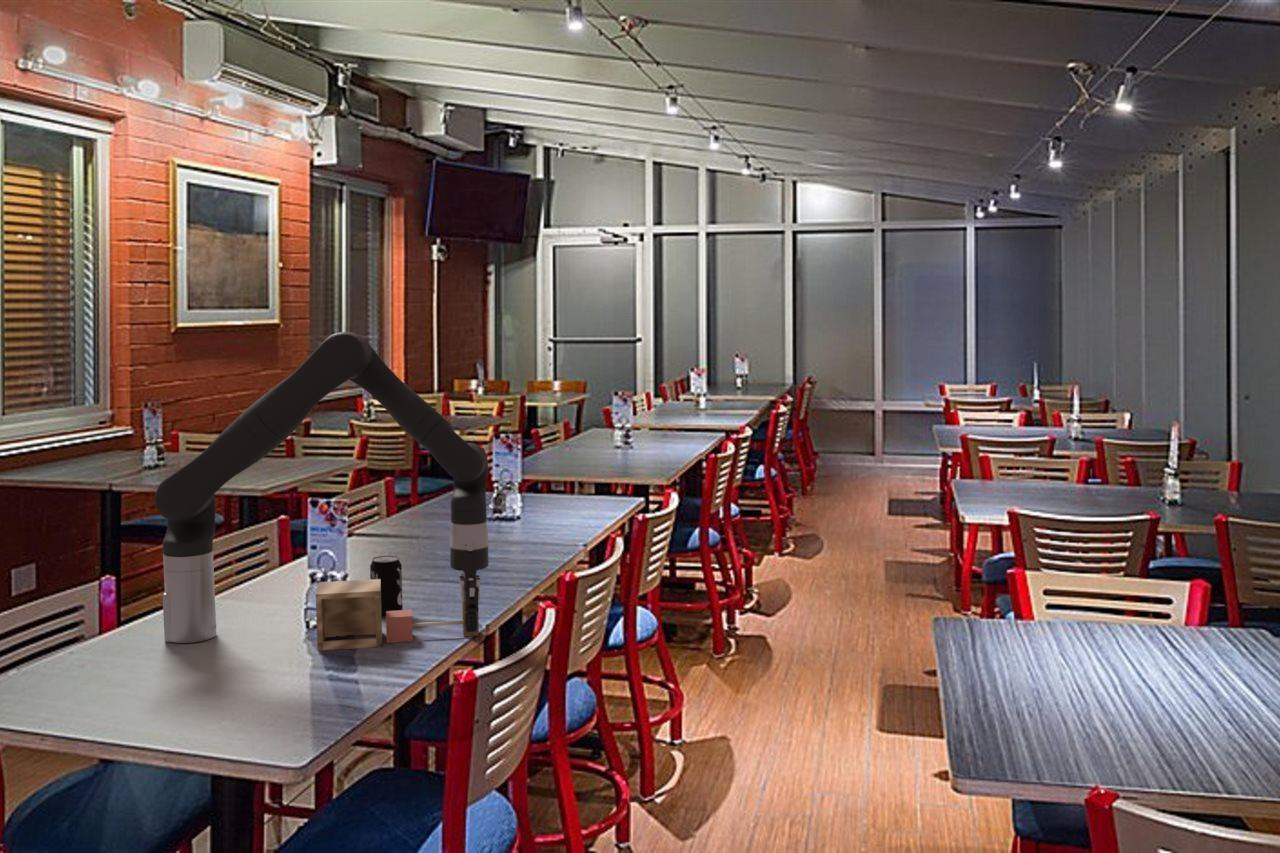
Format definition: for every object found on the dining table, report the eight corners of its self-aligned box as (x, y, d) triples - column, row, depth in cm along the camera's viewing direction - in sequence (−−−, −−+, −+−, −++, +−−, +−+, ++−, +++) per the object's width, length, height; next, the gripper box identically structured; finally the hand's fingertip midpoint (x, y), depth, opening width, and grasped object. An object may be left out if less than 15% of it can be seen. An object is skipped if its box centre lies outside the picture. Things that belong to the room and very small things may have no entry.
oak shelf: (317, 650, 222) (315, 594, 221) (320, 636, 232) (318, 582, 231) (381, 646, 225) (380, 590, 224) (382, 632, 235) (380, 579, 233)
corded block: (386, 642, 228) (385, 607, 227) (386, 635, 232) (385, 601, 232) (479, 636, 231) (478, 602, 231) (477, 630, 236) (476, 596, 235)
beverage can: (395, 618, 246) (393, 562, 244) (366, 616, 247) (364, 560, 246) (407, 610, 252) (406, 555, 251) (379, 608, 253) (377, 554, 252)
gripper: (448, 538, 238) (449, 620, 239) (452, 552, 224) (453, 639, 226) (485, 536, 239) (486, 618, 241) (491, 550, 225) (492, 637, 227)
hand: (470, 628), depth 233 cm, fingers closed on corded block, 3 cm apart
